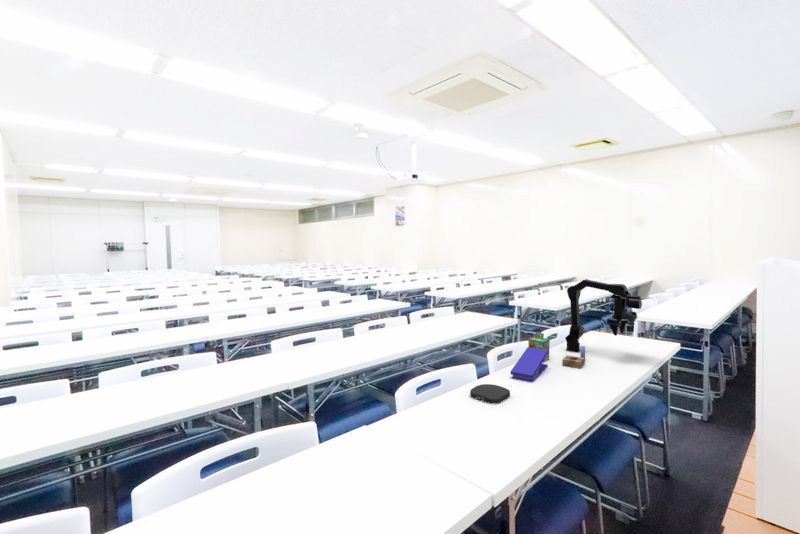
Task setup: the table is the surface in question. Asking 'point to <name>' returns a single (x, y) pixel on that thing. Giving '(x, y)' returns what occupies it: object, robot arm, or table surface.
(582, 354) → the peg
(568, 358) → the socket
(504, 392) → the media streaming box
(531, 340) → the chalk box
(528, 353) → the purple foot pedal
